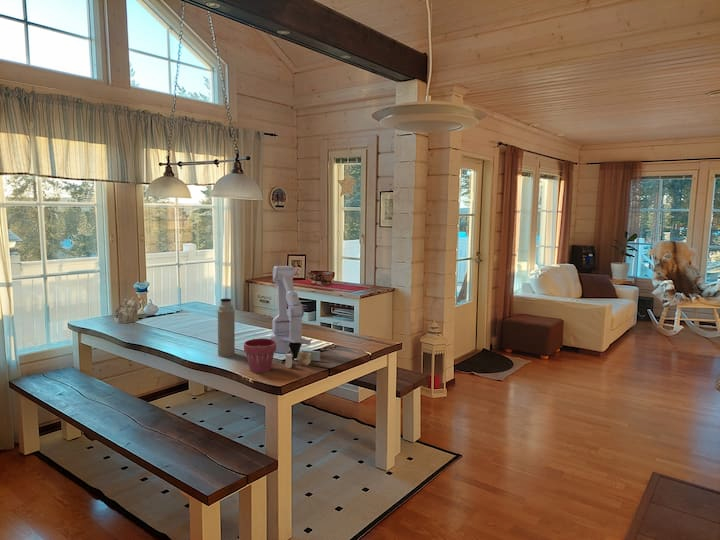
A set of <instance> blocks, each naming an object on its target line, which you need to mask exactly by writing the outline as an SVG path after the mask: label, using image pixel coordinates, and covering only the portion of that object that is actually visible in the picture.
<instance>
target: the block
mask: <svg viewBox="0 0 720 540" xmlns="http://www.w3.org/2000/svg"><path fill="white" fill-rule="evenodd" d="M311 363H312V360H311V353H303V352H302V351H300V354H299V355H298V360H297V365H301V366H309V365H310V364H311Z"/></svg>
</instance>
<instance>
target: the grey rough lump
mask: <svg viewBox="0 0 720 540" xmlns="http://www.w3.org/2000/svg"><path fill="white" fill-rule="evenodd" d="M137 306H138V304H137V302H136V300H135V296H132V297H130V299H128V300H127V298H124V299H123V303H120V305H119V306H118V307H117V308H116V309H115V311H114V312H115V317H114V319H113V320H114V322H115V324H129V323H134V322H136V321H138V320H140V319H139V313H138V310H137V308H138V307H137Z"/></svg>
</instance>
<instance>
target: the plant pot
mask: <svg viewBox="0 0 720 540" xmlns="http://www.w3.org/2000/svg"><path fill="white" fill-rule="evenodd" d="M243 351H244V352H245V353H246V357H247V362H248V367H249V371H250V373H255V374H256V373H257V374H262V373H267V372H269V371H270V370H271V369H272V364H273V360H274V355H275V353H276V352H275V351H276V341H274V340H272V339H270V338H253V339H248V340H246V341H245V342H244V343H243Z"/></svg>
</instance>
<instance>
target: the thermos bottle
mask: <svg viewBox="0 0 720 540" xmlns="http://www.w3.org/2000/svg"><path fill="white" fill-rule="evenodd" d="M235 317H236V316H235V309H234V305H233V304H232V298H228V297H227V298H221V299H220V304H219V306H218V310H217V356H218V357H222V358H228V357H234V356H235V350H236V349H235V347H236V345H235V344H236V343H235V341H236V340H235V331H236V330H235V329H236V328H235V327H236V326H235V324H236V322H235V321H236V319H235Z"/></svg>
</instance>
